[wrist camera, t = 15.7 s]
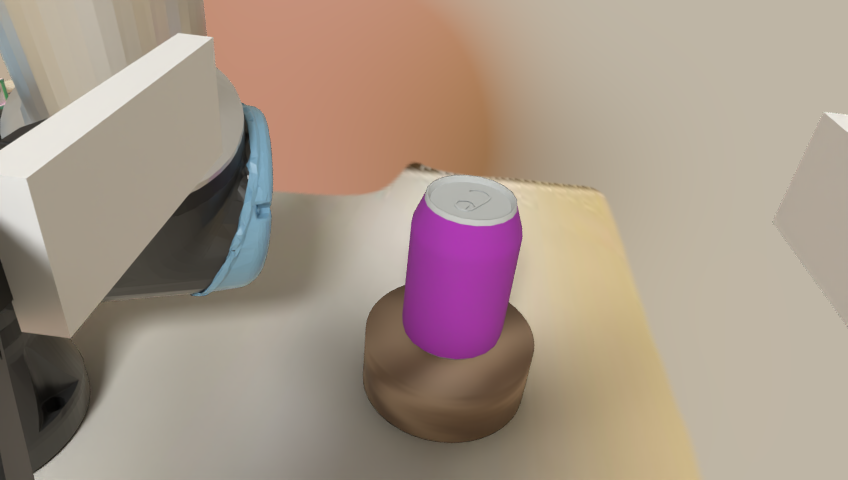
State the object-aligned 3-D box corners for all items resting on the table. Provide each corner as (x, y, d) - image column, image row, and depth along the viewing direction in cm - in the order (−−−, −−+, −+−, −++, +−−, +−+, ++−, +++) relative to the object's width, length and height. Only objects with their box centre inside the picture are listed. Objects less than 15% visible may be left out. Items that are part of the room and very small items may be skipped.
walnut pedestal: (331, 362, 52) (332, 315, 49) (449, 306, 60) (455, 263, 57) (434, 473, 44) (442, 424, 42) (555, 392, 52) (568, 346, 49)
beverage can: (468, 383, 45) (495, 241, 38) (380, 336, 48) (391, 197, 41) (516, 327, 50) (547, 194, 44) (435, 288, 54) (452, 159, 47)
